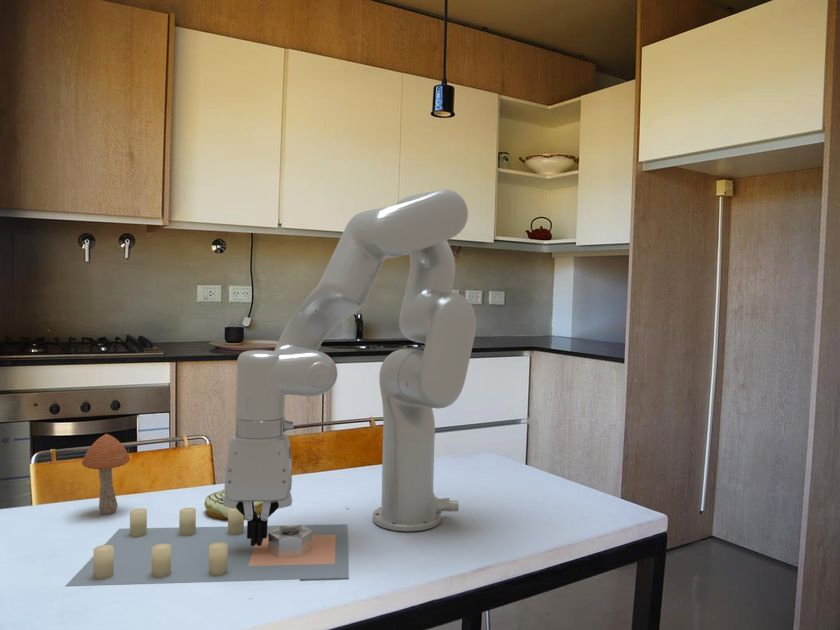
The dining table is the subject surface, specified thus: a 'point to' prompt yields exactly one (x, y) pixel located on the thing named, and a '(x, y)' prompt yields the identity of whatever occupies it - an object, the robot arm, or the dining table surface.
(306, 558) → the spacer board
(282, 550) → the hex nut
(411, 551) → the dining table surface
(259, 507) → the decorated donut
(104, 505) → the mushroom
